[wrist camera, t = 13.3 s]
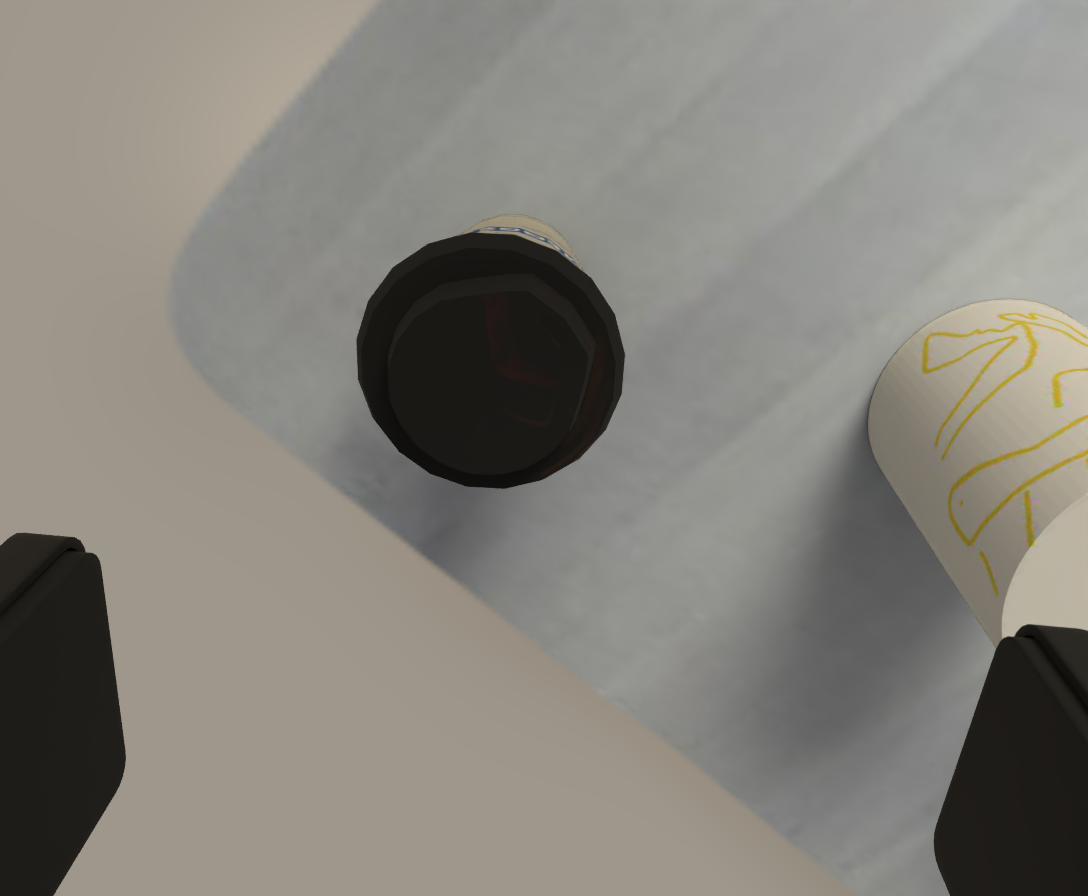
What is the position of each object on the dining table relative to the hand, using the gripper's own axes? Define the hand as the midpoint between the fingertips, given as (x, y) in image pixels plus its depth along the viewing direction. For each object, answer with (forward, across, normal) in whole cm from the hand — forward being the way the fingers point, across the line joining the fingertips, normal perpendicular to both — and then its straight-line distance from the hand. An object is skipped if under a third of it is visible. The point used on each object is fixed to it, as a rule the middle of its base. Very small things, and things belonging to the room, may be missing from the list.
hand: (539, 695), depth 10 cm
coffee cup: (+24, +2, +2) cm, 24 cm away
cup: (+24, -15, +5) cm, 29 cm away
